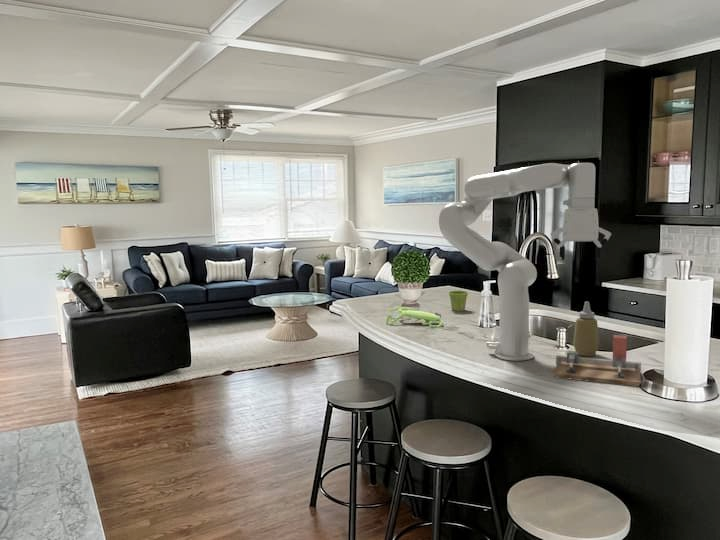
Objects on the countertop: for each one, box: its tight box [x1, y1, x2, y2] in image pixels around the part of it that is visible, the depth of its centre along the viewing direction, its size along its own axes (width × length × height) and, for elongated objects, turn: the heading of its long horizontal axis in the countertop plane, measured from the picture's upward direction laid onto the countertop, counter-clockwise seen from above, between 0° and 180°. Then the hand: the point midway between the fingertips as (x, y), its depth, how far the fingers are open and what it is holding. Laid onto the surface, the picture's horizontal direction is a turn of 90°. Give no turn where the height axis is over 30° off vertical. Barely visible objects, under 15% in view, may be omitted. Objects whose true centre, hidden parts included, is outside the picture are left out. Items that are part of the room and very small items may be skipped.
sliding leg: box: [612, 334, 628, 376], centre depth 164 cm, size 4×9×10 cm, turn 156°
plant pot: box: [448, 290, 469, 312], centre depth 267 cm, size 9×9×9 cm
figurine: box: [385, 306, 444, 329], centre depth 244 cm, size 18×27×6 cm
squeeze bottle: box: [572, 301, 600, 357], centre depth 187 cm, size 8×8×18 cm
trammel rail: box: [555, 350, 642, 373], centre depth 167 cm, size 24×9×4 cm, turn 66°
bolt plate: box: [553, 362, 642, 386], centre depth 167 cm, size 23×14×1 cm, turn 66°
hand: (579, 259), depth 173 cm, fingers open, 9 cm apart
